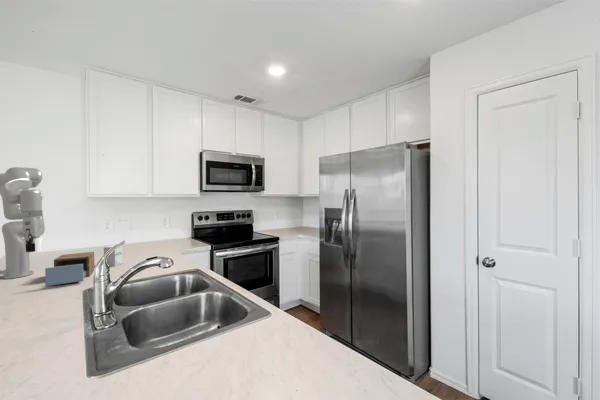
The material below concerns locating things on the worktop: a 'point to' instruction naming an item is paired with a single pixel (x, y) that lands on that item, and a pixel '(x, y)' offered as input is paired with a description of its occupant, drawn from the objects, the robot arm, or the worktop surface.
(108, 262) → the supplement box
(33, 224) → the robot arm
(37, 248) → the shot glass
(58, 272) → the tray
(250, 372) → the worktop surface
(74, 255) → the tan storage bin
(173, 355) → the worktop surface
